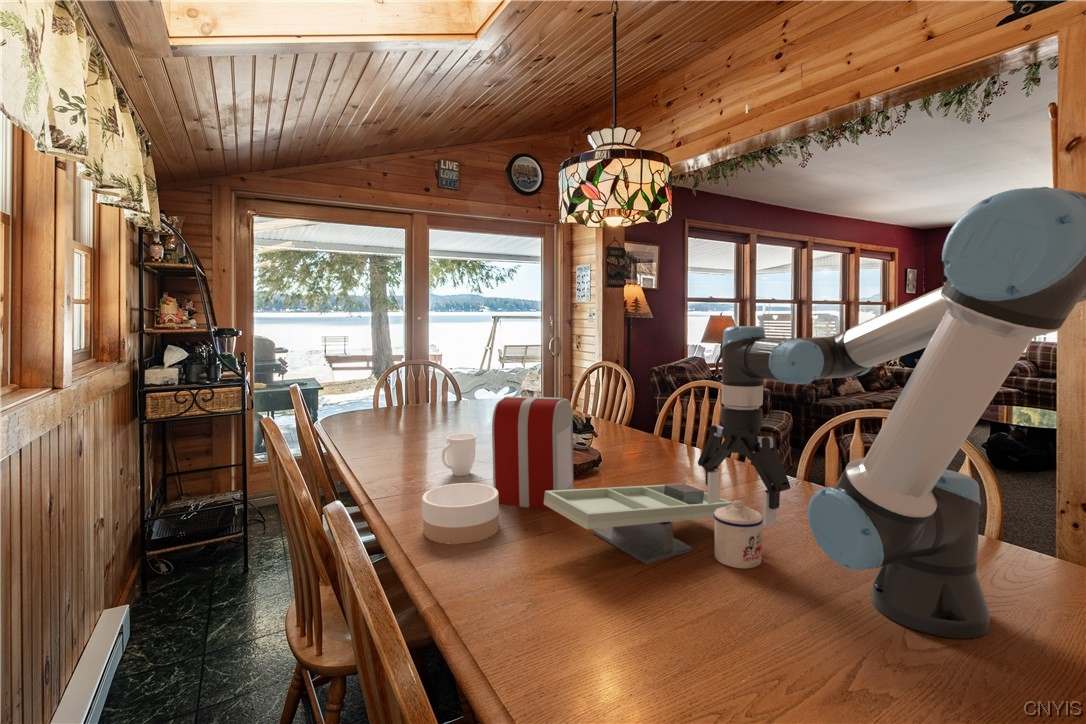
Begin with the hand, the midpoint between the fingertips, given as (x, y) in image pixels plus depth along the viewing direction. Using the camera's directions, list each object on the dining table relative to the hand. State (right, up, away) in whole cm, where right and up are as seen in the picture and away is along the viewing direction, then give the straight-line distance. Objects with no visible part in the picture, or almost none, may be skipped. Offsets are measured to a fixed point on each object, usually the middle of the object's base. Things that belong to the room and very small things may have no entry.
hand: (739, 512), depth 106 cm
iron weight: (-8, -1, +14) cm, 16 cm away
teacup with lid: (0, -9, 0) cm, 9 cm away
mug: (-65, -6, +61) cm, 89 cm away
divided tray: (-18, -1, +8) cm, 20 cm away
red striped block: (-41, -7, +39) cm, 57 cm away
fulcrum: (-18, -8, +8) cm, 22 cm away
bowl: (-57, -9, +17) cm, 61 cm away
